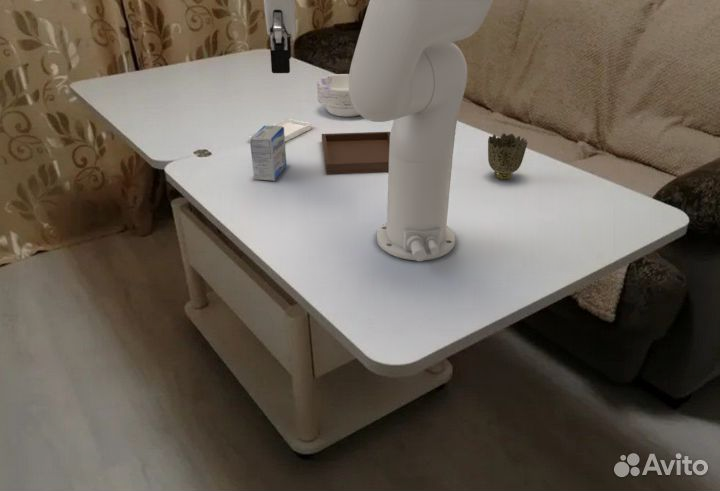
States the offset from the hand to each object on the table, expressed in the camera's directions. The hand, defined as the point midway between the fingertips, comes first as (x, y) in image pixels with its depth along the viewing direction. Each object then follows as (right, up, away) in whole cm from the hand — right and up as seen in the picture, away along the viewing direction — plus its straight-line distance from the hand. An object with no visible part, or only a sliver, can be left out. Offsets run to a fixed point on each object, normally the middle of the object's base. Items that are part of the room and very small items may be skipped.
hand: (281, 65), depth 109 cm
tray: (+14, -14, +19) cm, 27 cm away
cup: (+43, -20, +10) cm, 48 cm away
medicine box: (-4, -19, +11) cm, 22 cm away
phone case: (-4, -7, +30) cm, 31 cm away
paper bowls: (+11, +2, +46) cm, 47 cm away
